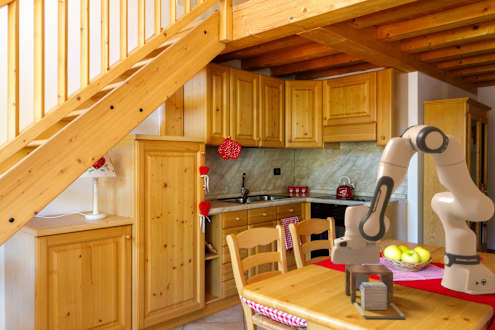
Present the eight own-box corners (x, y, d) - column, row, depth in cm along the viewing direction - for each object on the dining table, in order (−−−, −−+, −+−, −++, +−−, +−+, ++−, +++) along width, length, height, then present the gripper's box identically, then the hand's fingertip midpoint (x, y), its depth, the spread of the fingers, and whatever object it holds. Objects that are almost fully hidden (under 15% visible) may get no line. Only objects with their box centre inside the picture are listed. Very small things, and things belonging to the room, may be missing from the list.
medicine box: (382, 305, 137) (382, 281, 137) (387, 310, 132) (387, 286, 132) (360, 305, 137) (360, 281, 137) (364, 310, 132) (364, 285, 132)
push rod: (370, 288, 155) (370, 270, 155) (385, 304, 137) (385, 285, 137) (350, 287, 155) (350, 270, 155) (362, 304, 137) (363, 285, 137)
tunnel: (383, 294, 149) (383, 264, 148) (393, 303, 139) (393, 272, 138) (345, 293, 149) (345, 264, 149) (351, 303, 139) (351, 272, 139)
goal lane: (392, 304, 138) (392, 303, 138) (404, 317, 127) (404, 315, 127) (353, 304, 138) (353, 302, 138) (362, 316, 127) (362, 315, 127)
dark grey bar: (403, 317, 126) (403, 316, 126) (405, 319, 125) (405, 318, 125) (364, 317, 127) (364, 315, 127) (365, 319, 125) (365, 317, 125)
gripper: (377, 240, 165) (377, 271, 166) (330, 240, 166) (330, 271, 166) (382, 243, 159) (382, 276, 159) (333, 243, 159) (333, 275, 160)
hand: (355, 273), depth 163 cm, fingers closed
